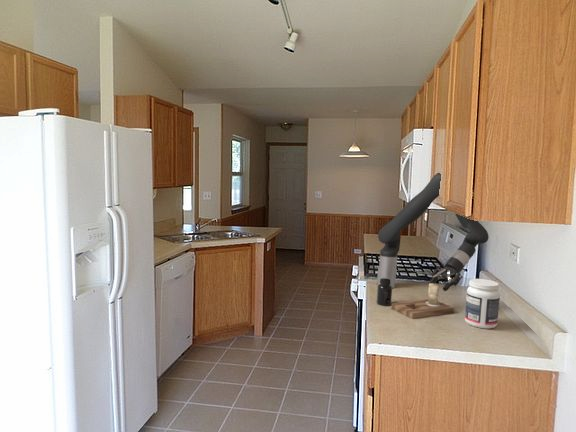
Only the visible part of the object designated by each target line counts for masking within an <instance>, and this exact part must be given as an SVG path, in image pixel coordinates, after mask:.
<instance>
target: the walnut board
mask: <svg viewBox="0 0 576 432" xmlns="http://www.w3.org/2000/svg"><path fill="white" fill-rule="evenodd" d="M391 310H393V311H395V312H397V313H399V314H402V315H403V316H405V317H408V318H409V319H410V320H411V319H413V320H414V319H421V318H427V317H434V316H440V315H446V314H447V315H449V314H453V313H454V310H455V309H454V307H453V306H451V305H448V304H446V303H445V302H441V301H439V300H438V305H430V304H428V298H427V299H417V300H409V301H400V302H391Z"/></svg>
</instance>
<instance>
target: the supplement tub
mask: <svg viewBox="0 0 576 432" xmlns="http://www.w3.org/2000/svg"><path fill="white" fill-rule="evenodd" d="M468 285H469V286H468V288H467V290H466V297H465V311H464V320H465V322H466V323H467V325H470V326H471V327H474V328H479V329H490V330H491V329H494V328H497V325H498V322H499V308H500V300H501V299H500V298H501V292H500V290H499V289H500V283H499V282H497V281H494V280H490V279H485V278H472V279H470V280H469V283H468Z"/></svg>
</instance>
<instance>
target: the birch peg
mask: <svg viewBox="0 0 576 432" xmlns="http://www.w3.org/2000/svg"><path fill="white" fill-rule="evenodd" d="M439 290H440V285H439V284H438V283H435V284H433V283H431V284H429V283H428V294H427V295H428V296H427V299H428V304H430V305H438V301H439Z"/></svg>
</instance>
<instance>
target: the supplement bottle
mask: <svg viewBox="0 0 576 432" xmlns="http://www.w3.org/2000/svg"><path fill="white" fill-rule="evenodd" d="M390 281H391V280H390V279H386V278H381V279H380V284H379V285H377V290H376V292H377V293H376V304H377V305H379V306H383V307H388V306H392V297H393V296H392V295H393V288H392V286H391V285H390V284H391V283H390Z"/></svg>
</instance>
